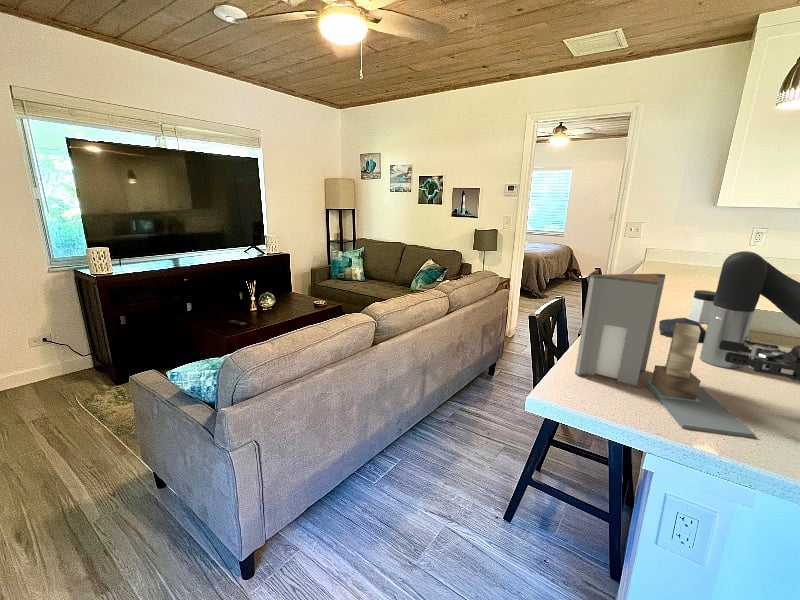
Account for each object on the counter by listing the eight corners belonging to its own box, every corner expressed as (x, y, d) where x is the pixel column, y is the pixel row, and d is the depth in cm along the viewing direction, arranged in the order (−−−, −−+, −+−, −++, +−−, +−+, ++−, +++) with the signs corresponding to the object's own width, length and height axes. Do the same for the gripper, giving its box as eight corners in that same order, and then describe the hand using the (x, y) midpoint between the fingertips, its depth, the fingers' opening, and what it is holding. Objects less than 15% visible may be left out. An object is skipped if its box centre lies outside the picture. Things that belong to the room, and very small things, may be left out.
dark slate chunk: (704, 328, 144) (707, 317, 143) (714, 347, 126) (717, 333, 125) (657, 321, 152) (659, 310, 150) (659, 337, 134) (662, 325, 132)
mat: (701, 390, 95) (702, 387, 95) (754, 437, 76) (755, 434, 76) (645, 383, 98) (645, 381, 98) (682, 428, 79) (683, 424, 79)
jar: (720, 324, 148) (727, 294, 145) (703, 325, 146) (710, 295, 143) (698, 317, 157) (704, 289, 153) (682, 318, 155) (688, 290, 152)
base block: (681, 386, 96) (686, 368, 94) (695, 400, 89) (700, 381, 88) (651, 382, 97) (655, 365, 96) (662, 396, 91) (667, 377, 89)
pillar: (687, 371, 92) (698, 326, 89) (688, 378, 89) (700, 331, 86) (665, 367, 95) (675, 322, 92) (666, 373, 91) (676, 327, 88)
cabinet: (640, 369, 107) (660, 273, 99) (669, 385, 98) (693, 281, 90) (574, 373, 103) (590, 274, 96) (598, 391, 94) (617, 283, 87)
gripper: (831, 398, 72) (722, 376, 81) (807, 371, 84) (714, 354, 92) (843, 363, 70) (731, 344, 79) (817, 340, 82) (721, 326, 90)
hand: (722, 350), depth 85 cm, fingers open, 8 cm apart
